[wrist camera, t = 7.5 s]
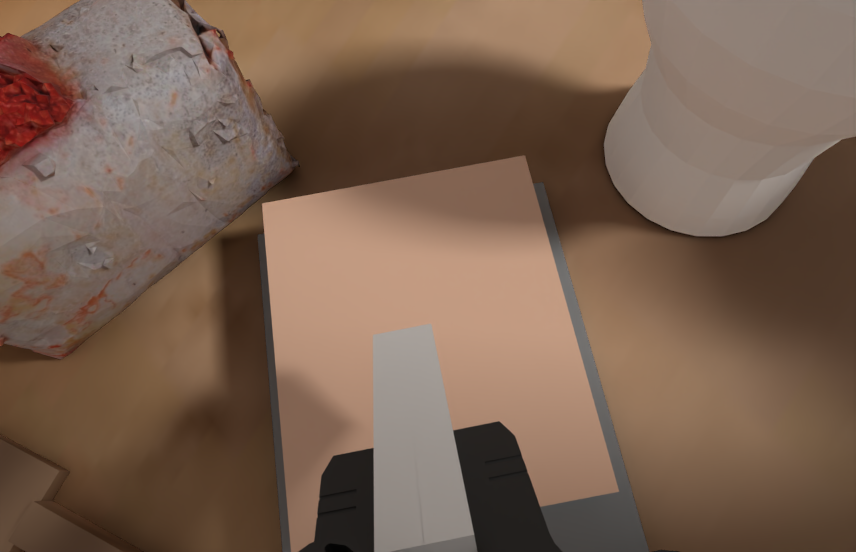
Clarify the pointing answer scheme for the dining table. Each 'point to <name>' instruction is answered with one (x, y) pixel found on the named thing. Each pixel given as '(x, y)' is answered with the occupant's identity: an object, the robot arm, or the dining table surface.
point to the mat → (567, 522)
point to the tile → (427, 304)
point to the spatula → (43, 509)
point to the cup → (732, 108)
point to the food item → (118, 161)
